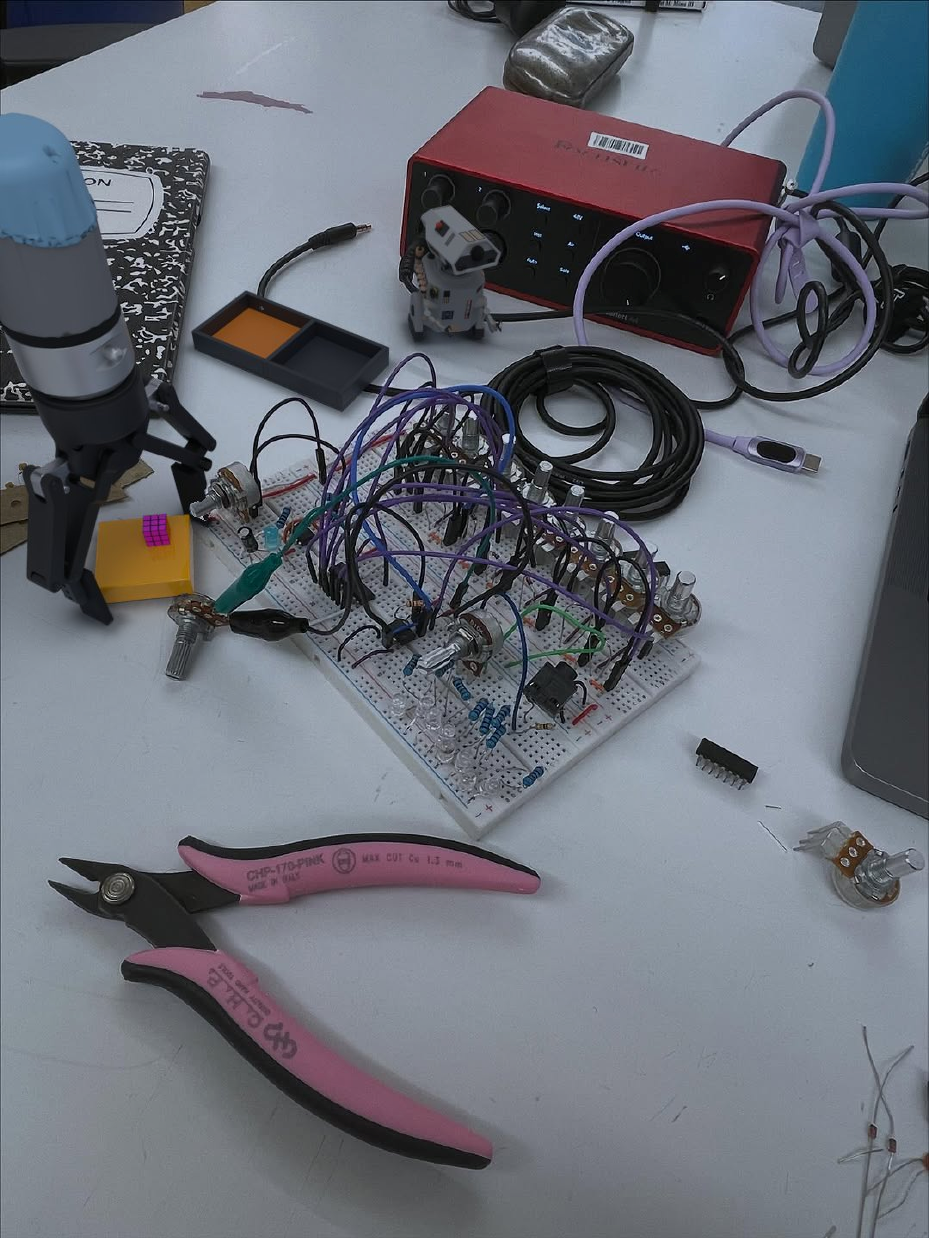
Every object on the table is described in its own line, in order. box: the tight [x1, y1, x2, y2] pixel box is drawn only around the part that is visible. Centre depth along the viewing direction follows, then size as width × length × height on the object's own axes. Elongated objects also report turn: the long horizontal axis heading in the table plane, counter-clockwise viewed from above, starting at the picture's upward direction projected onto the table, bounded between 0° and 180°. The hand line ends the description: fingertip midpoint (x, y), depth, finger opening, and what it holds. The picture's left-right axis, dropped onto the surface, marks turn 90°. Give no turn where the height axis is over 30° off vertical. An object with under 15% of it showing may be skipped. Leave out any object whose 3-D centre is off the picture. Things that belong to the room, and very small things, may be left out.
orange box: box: [94, 513, 195, 604], centre depth 71 cm, size 8×8×4 cm
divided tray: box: [190, 289, 390, 412], centre depth 92 cm, size 20×10×2 cm, turn 63°
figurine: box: [407, 204, 503, 342], centre depth 92 cm, size 9×12×15 cm
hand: (151, 565), depth 73 cm, fingers open, 13 cm apart
